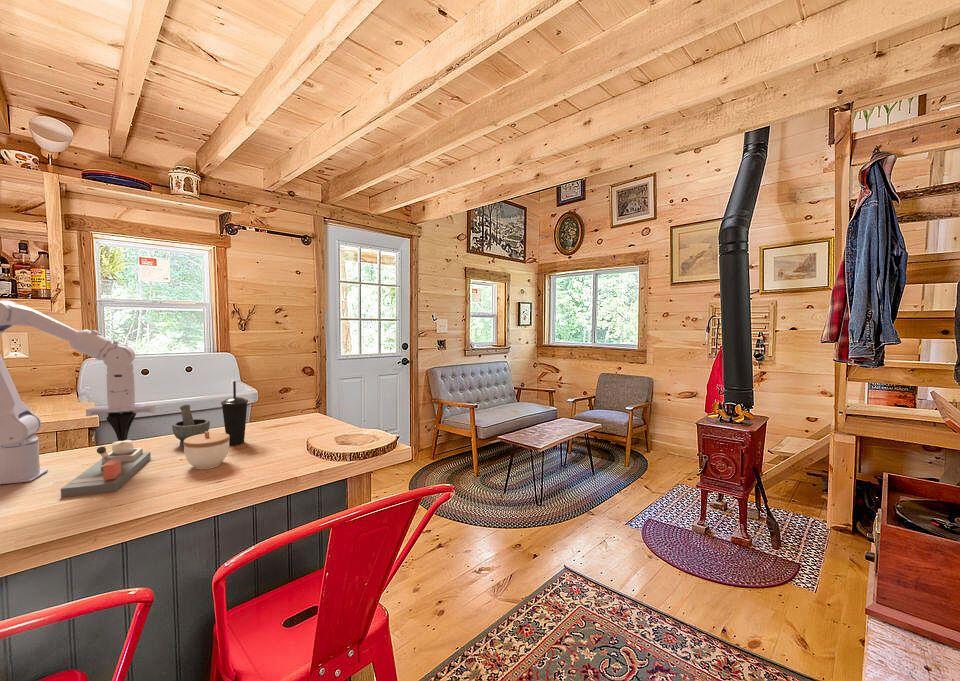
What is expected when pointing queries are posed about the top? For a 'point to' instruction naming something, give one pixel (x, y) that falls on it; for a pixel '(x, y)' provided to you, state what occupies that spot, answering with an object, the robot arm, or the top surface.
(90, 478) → the panel
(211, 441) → the lidded jar
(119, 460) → the slide paddle
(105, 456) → the toggle lever
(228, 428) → the drinking cup
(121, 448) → the push button
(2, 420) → the robot arm
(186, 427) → the mortar and pestle
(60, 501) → the top surface
